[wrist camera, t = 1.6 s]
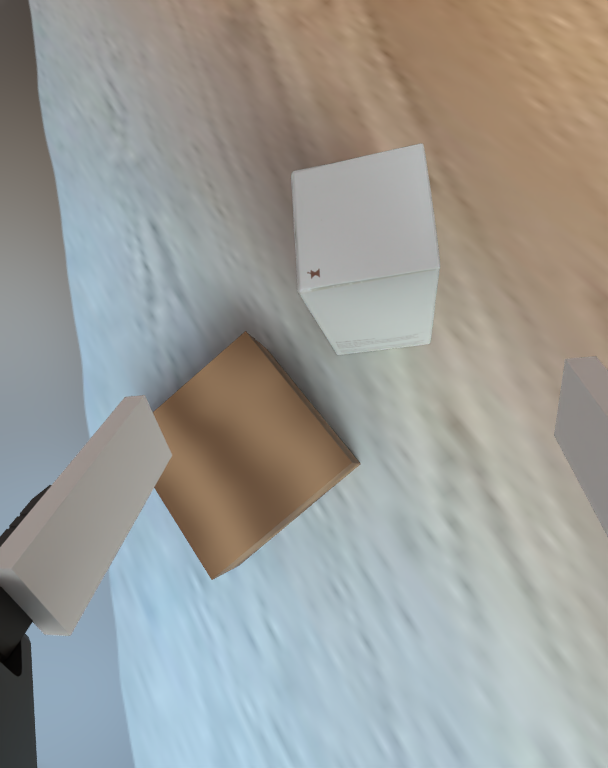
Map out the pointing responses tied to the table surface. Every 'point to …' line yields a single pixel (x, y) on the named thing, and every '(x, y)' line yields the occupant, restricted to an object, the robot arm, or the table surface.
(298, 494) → the walnut box
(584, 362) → the robot arm
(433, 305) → the supplement box
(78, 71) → the table surface
